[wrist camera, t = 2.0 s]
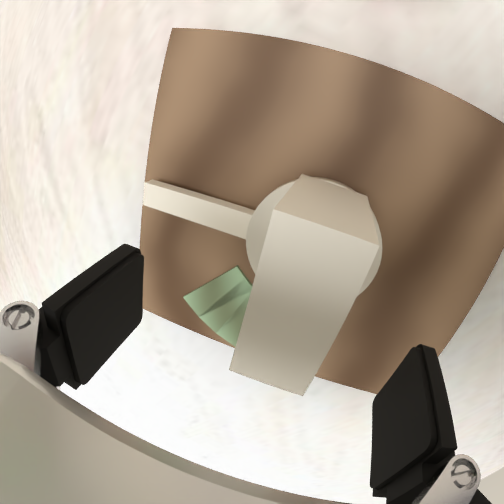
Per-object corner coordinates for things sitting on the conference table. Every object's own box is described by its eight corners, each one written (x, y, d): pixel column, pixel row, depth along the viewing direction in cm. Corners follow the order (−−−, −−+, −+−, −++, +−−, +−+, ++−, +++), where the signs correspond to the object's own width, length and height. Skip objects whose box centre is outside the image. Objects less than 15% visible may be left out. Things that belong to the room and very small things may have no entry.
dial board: (529, 145, 11) (541, 148, 10) (401, 389, 21) (402, 402, 19) (182, 32, 15) (170, 27, 14) (146, 298, 24) (136, 307, 23)
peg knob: (400, 204, 14) (434, 267, 8) (351, 314, 17) (344, 408, 11) (159, 133, 16) (67, 151, 10) (147, 240, 19) (73, 294, 13)
